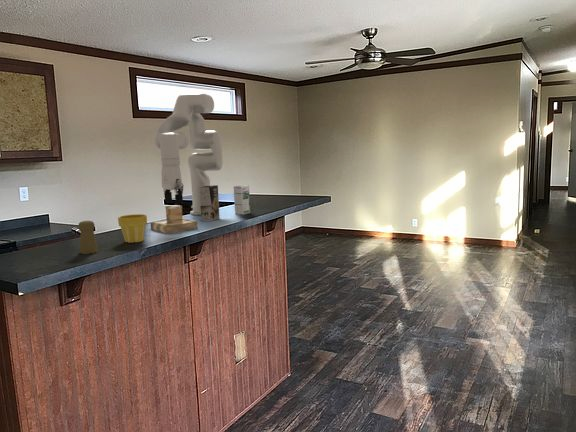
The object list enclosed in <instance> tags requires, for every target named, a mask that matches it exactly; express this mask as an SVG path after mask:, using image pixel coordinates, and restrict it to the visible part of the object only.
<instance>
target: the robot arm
mask: <svg viewBox="0 0 576 432" xmlns="http://www.w3.org/2000/svg"><path fill="white" fill-rule="evenodd" d="M214 109H215V102H214V98H213V97H212V96H211V95H209V94H206V93H202V92H194V93H193V92H192V93H182V94H179V95H178V96H177V98H176V101H175V104H174V107H173V110H172V114H171V115H169V116H168V117H166V118H165V119H164V120H163V121H161V123H159V125H158V127H157V129H156V132H155V136H154V145H155V147H156V148H157V149H158V150H159V151H160V160H161V187H162V189H163V194H164V202H165V203H166V202H167V203H168V202H173V195H172V193H173V192H172V191H174V193H175V194H174V199H175V200H174V201H175V205H180V204H184V198H183V194H184V193H183V192H184V184H183V182H182V173H181V168H180V166H181V163H180V150H184V149H186V148H187V147H188V146H189V145H190V147H191V149H192V150H202V151H203V150H205V152H204V151H203V152H202V151H201V152H193V153H190V155H188V158H187V164H188V168H189V172H190V183H191V195H192V196H191V197H192V198H191V199H192V205H191V206H190V208H191V209H192V210H191V211H190V212H189V214H190V215H192V216H193V215H194V216H198V215H199V216H201V208H200V188H199V187H203V186H211V180H210V177H209V176H208V174H207V173H206V172H210V171H211V172H213V171H214V172H215V171H220V170H221V169H222V168H223V149H222V146H223V145H222V137H221V135H220V133H219V132H218V131H217V130H207V129H206V120H205V118H204V117H203V115H201V114H210V113H213V111H214ZM187 126H188V127H187ZM185 127H187V129H188V135H187V133H185V132H183V131H178V130H181V129H183V128H185ZM206 150H209V151H206ZM210 150H211V151H210Z"/></svg>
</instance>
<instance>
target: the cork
mask: <svg viewBox="0 0 576 432" xmlns="http://www.w3.org/2000/svg"><path fill="white" fill-rule="evenodd" d="M95 226H96V225H95V223H94V221H93V220H83V221H80V222H79V223H78V226H77V227H78V230H79V231H80V235H79V236H80V237H79V239H80V241H79V254H80V253H82V254H81V255H90V254H89V253H92V254H96V253H98V252H99V248H98V244H97V241H96V236H95V232H94V229H95ZM95 252H96V253H95Z"/></svg>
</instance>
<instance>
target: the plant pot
mask: <svg viewBox="0 0 576 432" xmlns="http://www.w3.org/2000/svg"><path fill="white" fill-rule="evenodd" d="M147 218H148V216H147V214H142V213H141V214H140V213H139V214H137V213H135V214H126V215H120V216H118V217H117V221H118V222H117V223H118V227H120V229H121V232H122V235H123V238H124V241H125V243H127V242H128V243H129V244H131V243H134V242H135V243H140V242H143V241H144V240H145V230H146V225H147V224H148V219H147Z"/></svg>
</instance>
